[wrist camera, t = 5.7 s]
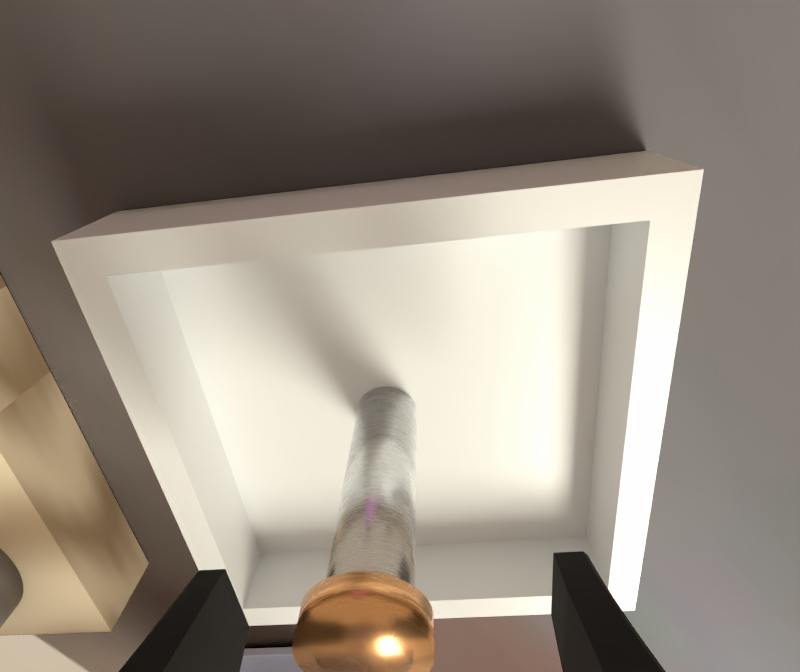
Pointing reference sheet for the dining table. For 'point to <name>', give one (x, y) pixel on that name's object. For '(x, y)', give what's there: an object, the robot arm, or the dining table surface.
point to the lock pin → (372, 555)
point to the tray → (405, 367)
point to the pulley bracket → (54, 505)
